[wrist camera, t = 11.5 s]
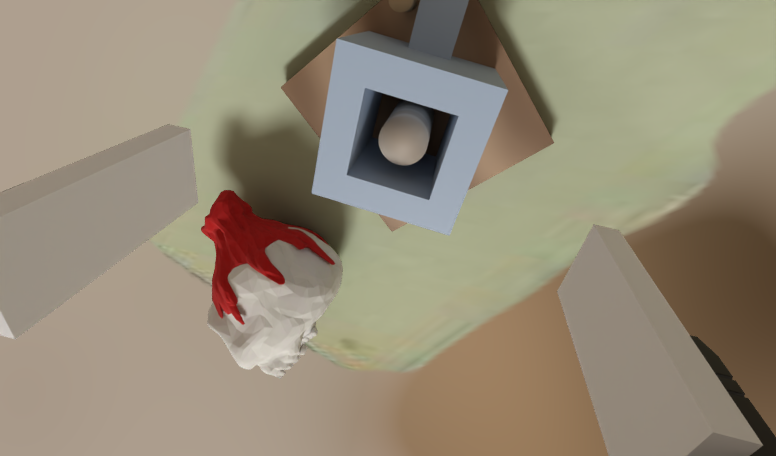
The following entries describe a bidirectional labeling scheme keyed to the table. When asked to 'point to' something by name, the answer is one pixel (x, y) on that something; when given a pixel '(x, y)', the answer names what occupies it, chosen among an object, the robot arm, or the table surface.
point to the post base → (469, 47)
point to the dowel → (402, 5)
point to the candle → (267, 285)
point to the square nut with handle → (415, 84)
